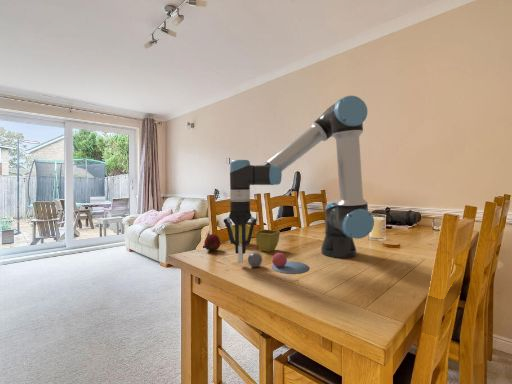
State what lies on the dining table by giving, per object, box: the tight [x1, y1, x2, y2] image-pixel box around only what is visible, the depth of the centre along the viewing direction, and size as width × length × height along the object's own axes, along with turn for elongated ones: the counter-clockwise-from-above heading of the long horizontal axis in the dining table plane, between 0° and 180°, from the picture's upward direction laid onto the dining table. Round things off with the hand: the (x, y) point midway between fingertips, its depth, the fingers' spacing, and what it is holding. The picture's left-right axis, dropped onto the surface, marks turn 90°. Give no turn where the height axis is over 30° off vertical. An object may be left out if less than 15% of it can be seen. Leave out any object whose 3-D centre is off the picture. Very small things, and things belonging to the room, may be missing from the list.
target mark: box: [271, 260, 310, 275], centre depth 101 cm, size 14×14×1 cm
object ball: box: [271, 252, 288, 267], centre depth 101 cm, size 6×6×6 cm
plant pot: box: [230, 224, 251, 246], centre depth 137 cm, size 10×10×10 cm
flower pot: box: [254, 229, 280, 253], centre depth 126 cm, size 9×9×9 cm
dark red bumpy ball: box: [203, 233, 221, 252], centre depth 125 cm, size 7×8×8 cm
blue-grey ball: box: [247, 251, 263, 268], centre depth 102 cm, size 6×6×6 cm
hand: (240, 261), depth 102 cm, fingers closed
